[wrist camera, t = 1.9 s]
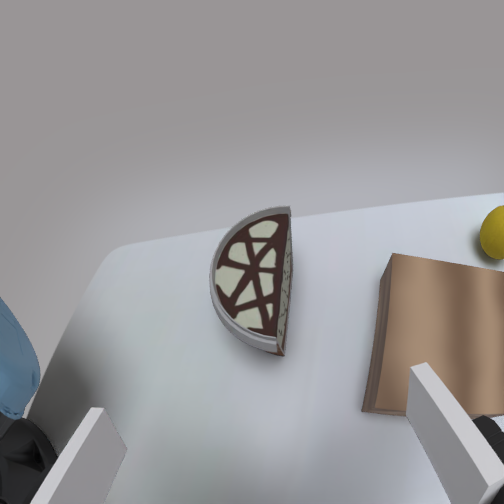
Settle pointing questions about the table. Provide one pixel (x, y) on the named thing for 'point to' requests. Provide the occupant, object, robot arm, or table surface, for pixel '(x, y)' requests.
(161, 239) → the table surface
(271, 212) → the food container
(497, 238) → the lemon
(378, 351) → the square wooden plinth
